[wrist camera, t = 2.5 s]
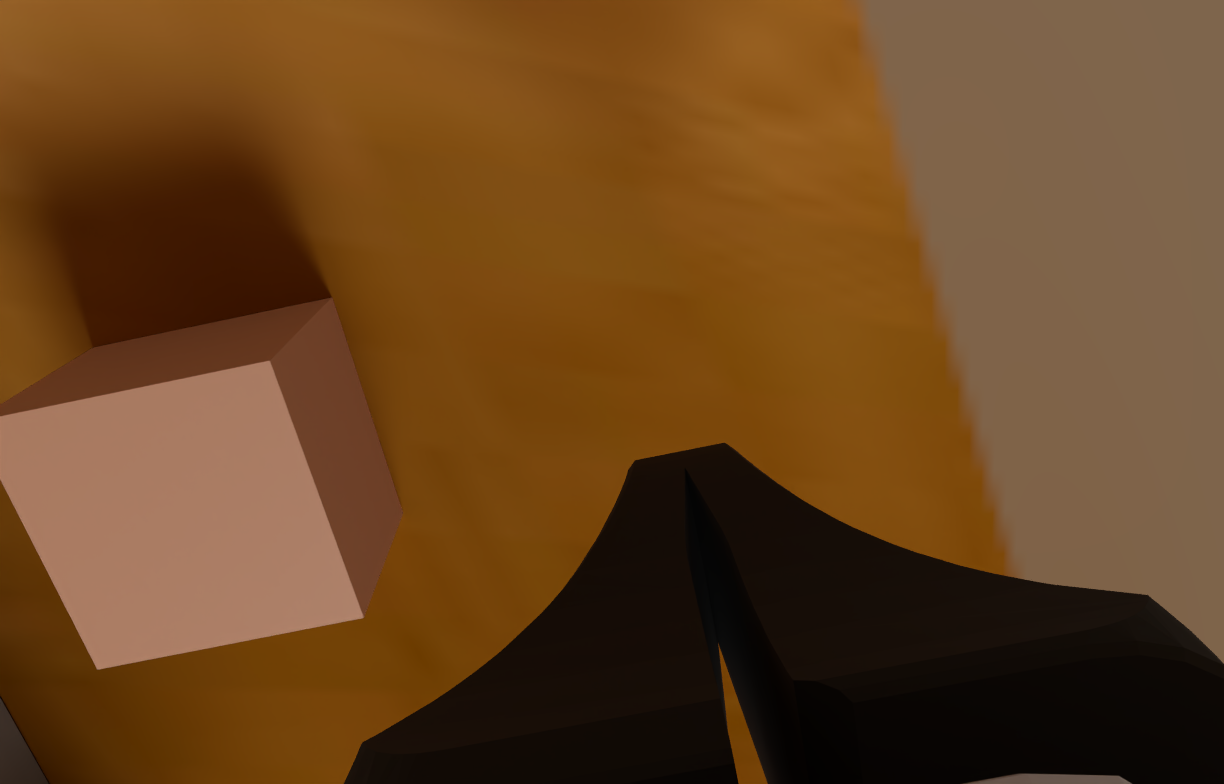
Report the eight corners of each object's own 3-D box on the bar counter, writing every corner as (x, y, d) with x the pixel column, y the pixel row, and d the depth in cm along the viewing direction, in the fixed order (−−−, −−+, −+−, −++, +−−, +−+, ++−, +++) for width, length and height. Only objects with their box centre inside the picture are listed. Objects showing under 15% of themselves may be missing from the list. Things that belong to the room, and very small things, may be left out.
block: (404, 510, 20) (363, 617, 16) (187, 553, 20) (97, 669, 16) (334, 295, 18) (269, 360, 14) (96, 345, 18) (-29, 422, 14)
